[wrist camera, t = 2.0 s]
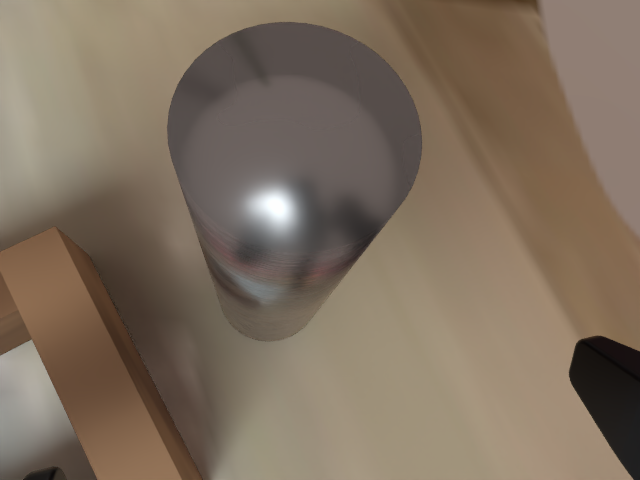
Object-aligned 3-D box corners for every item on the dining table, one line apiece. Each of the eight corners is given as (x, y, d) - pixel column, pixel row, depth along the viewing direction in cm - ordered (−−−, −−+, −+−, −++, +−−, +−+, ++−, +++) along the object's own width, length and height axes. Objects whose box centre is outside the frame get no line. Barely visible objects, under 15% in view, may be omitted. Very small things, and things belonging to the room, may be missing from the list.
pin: (338, 287, 21) (468, 128, 8) (272, 362, 19) (311, 307, 7) (266, 224, 21) (288, -18, 9) (197, 294, 20) (109, 127, 7)
